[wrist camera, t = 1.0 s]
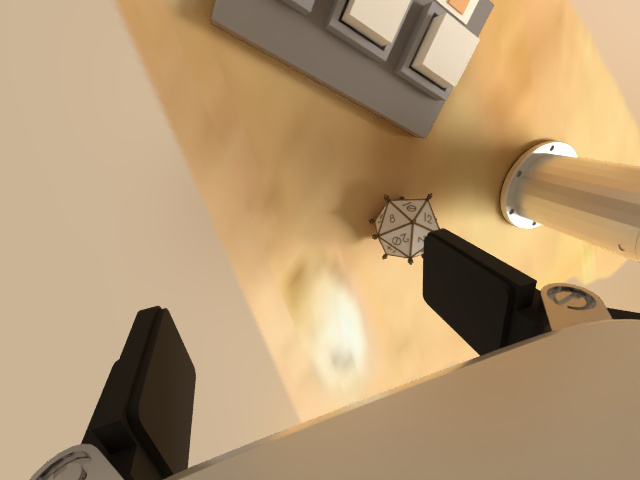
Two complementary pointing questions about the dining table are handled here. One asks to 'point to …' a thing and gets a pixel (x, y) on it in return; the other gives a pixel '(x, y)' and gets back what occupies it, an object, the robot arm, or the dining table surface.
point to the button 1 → (445, 51)
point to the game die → (404, 226)
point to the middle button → (376, 18)
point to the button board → (353, 51)
